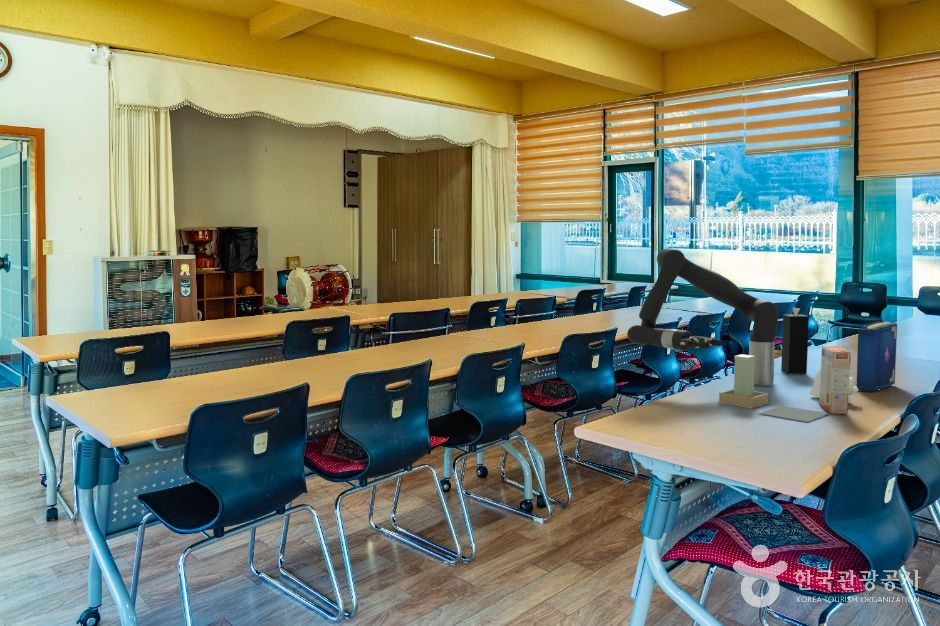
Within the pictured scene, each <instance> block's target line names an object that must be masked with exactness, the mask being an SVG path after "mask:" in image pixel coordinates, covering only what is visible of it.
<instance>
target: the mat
mask: <svg viewBox="0 0 940 626" xmlns="http://www.w3.org/2000/svg"><path fill="white" fill-rule="evenodd" d="M758 413H759V415H760V414H761V415H762V416H766V415H767V417H771V416H773V417H772V418H777V417H778V419H784V420H788V419H789V420H790V421H795V422H800V423H805V424H808V423H811V421H812V422H814V421H816V419H817V420H819V419H822V418H824V417H823V416H825V415H827V416H829V415H830V413H829V412H823V411H817V410H811V409H804V408H799V407H793V406H786V405H780V406H777V407H776V406H775V407H774V408H771V409H768V410H765V411H761V412H758ZM828 414H829V415H828ZM821 417H822V418H821ZM825 417H826V416H825ZM818 418H819V419H818Z"/></svg>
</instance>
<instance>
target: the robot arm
mask: <svg viewBox="0 0 940 626" xmlns="http://www.w3.org/2000/svg"><path fill="white" fill-rule="evenodd" d="M656 263H657V265H658V267H659V268H660V270H659V274H658V277H657V278H656V281H655V282H654V284H653V286H652V288H651V289H650V290H649V292H648V294H647V295H646V297H645V299H644V301H643V303H642V306H641V308H640V311H639V312H638V313H639V314H638V318H639V319H640V320H641V324H640V325H638V324H637V325H632V326H631V327H629V329H628V330H627V333H626V335H627V336H626V337H627V338H628V340H629V342H632V343H634V344H638V345H641V346H647V345H651V346H655V347H658V348H666V349H670V350H675V351H676V350H677V351H684V352H686V351H689V350H690V349H699V348H700V349H701V348H702V349H710V348H711V347H713V346H715V347H722V346H723V340H722V339H715V337H707V336H698V335H694V336H693V335H692V333H691V332H690V331H689V330H683V329H674V328H670V329H669V328H661V327H660V328H659V327H658V328H656V324H657V319H658V317H659V316H660V312H661V310H662V307H663V305H664V303H665V300H666V298H667V296H668V294H669V292H670V290H671V288H672V286H673V284H674V282H675V281H676V279H677V277H679V278H681V279H683V280H685V281H686V282H688V283H689V284H690V285H691V286H693V287H695V288H697V290H699V291H700V292H702V293H704V294H705V295H707V296H709V297H711V298H712V299H714V300H716V301H718V302H719V303H720V302H721V303H723V304H724V305H727V306H730V307H732V308H733V309H735V310H737V311H738V312H740V313H742V315H744V316H745V317H747V318H748V319H749V320H750V321H752V322H753V330H752V332H750V333H749V342H748V343H749V348H748V349H749V350H748V351H749V352H748V355H751V356H755V363H754V386H758V387H770V386H773V385H774V383H775V382H774V379H775V377H774V376H775V338H776V336H777V333H778V322H779V321H778V320H779V310H778V307H777V305H776V304H775V303H774V302H772V301H769V300H763V299H760V298H758V297H755V296H752V295H750V294H749V293H747V292H745V291H743V290H742V289H740V288H739V286H738V285H736V284H735V283H734V282H733V281H731V280H730V279H729V278H727V277H726V276H724V275H722V274H720V273H719V272H716V271H714V270H712V269H709V268H708V267H705V266H701V265H699V264H696V263H695V262H693V261H691V260H689V259H688V258H686V256H685V254H684V253H683V252H682V251H681V250H679V249H677V248H673V247H668V248H667V247H666V248H663V249H661V250H660V251H659V253H658V254H657V256H656Z"/></svg>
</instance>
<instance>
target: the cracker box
mask: <svg viewBox="0 0 940 626" xmlns="http://www.w3.org/2000/svg"><path fill="white" fill-rule="evenodd" d="M851 355H852V352H850V351H848V350H847V349H844V348H842V347H840V346H838V345H822V346H821V359H820V360H821V361H820V371H821V379H820V398H818V401H819V402H818V403H819V406H820V405H821V406H820V407H821V408H823V409H824V410H825V411H826V410H827V413H829V414H830V413H832V414H833V415H848V413H849V403H848V398H849V397H850V396H849V379H850V377H851V376H850V375H851V373H850V372H851V361H852V360H851V359H852V357H851Z"/></svg>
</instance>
